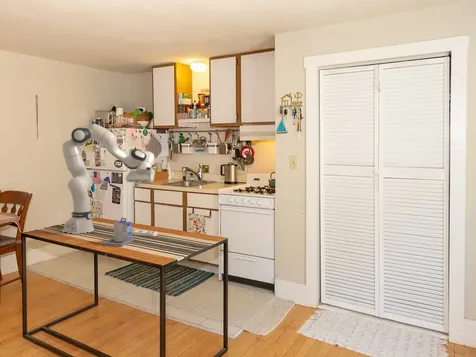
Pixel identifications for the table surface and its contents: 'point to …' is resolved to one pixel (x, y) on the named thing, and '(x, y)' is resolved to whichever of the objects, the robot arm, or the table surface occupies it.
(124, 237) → the ink cartridge box
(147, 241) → the table surface
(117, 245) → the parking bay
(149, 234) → the power strip
